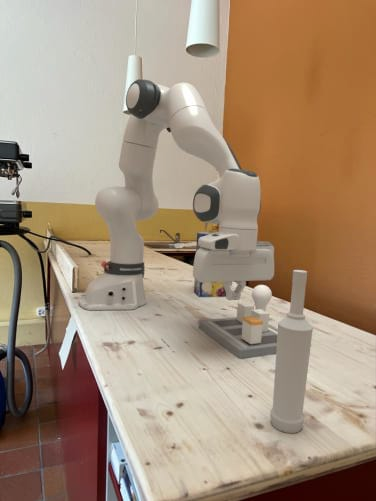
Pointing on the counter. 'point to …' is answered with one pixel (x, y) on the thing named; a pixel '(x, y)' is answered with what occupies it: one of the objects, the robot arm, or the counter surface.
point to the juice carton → (208, 287)
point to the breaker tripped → (252, 329)
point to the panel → (231, 333)
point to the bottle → (292, 361)
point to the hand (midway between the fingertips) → (232, 299)
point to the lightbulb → (261, 296)
